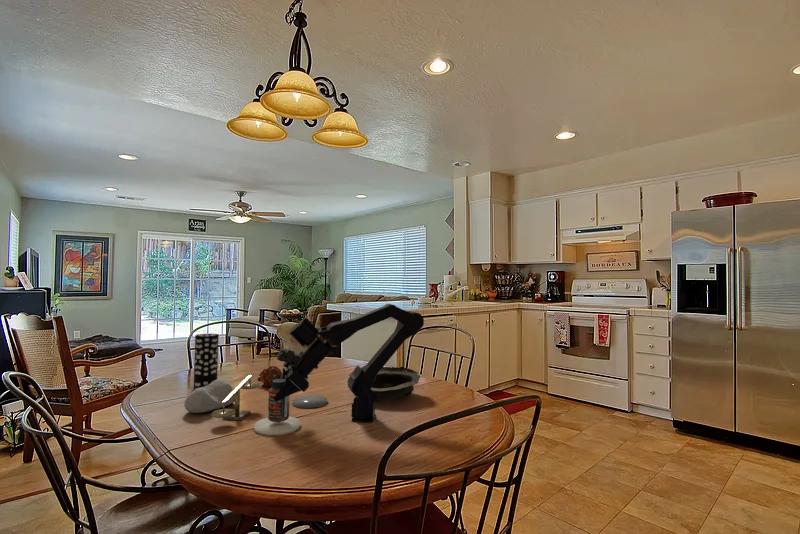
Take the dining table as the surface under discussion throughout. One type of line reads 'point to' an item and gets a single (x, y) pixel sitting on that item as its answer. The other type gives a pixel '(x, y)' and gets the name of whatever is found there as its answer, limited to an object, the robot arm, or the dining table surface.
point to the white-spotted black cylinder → (205, 359)
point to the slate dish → (309, 401)
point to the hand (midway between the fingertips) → (274, 396)
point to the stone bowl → (394, 382)
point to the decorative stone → (209, 397)
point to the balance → (236, 402)
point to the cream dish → (277, 426)
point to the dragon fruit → (270, 375)
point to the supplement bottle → (277, 403)
